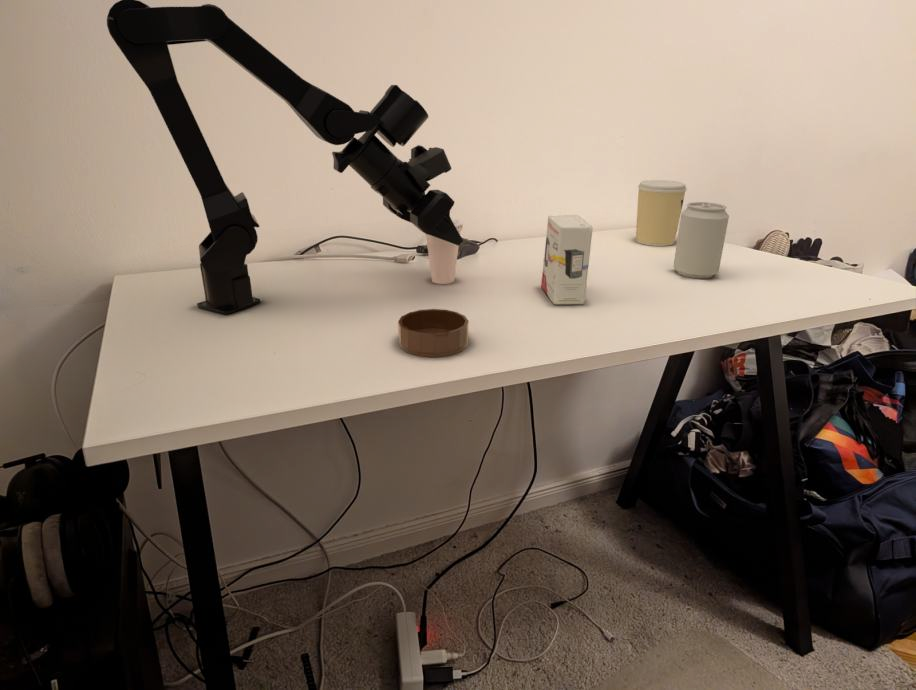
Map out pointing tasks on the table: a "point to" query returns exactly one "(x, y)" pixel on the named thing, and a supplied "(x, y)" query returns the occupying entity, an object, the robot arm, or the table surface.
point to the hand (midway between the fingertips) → (450, 237)
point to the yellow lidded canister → (659, 211)
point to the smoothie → (443, 257)
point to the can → (701, 239)
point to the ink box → (566, 259)
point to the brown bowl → (433, 332)
